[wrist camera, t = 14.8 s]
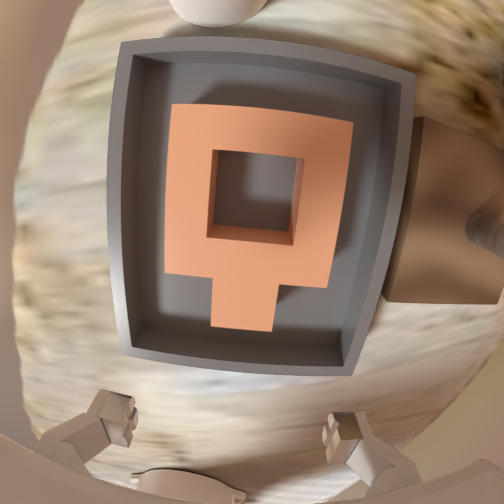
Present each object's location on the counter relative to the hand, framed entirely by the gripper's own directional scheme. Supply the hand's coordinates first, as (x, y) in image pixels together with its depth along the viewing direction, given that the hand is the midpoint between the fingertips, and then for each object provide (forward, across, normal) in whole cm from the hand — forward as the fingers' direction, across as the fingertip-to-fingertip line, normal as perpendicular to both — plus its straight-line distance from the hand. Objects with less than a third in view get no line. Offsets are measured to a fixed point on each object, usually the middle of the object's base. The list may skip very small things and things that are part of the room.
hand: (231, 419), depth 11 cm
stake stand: (+12, +18, +8) cm, 23 cm away
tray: (+12, 0, +6) cm, 14 cm away
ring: (+11, 0, +6) cm, 13 cm away
